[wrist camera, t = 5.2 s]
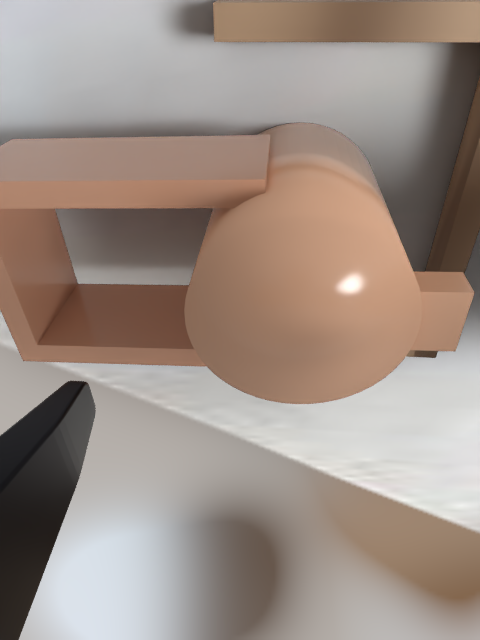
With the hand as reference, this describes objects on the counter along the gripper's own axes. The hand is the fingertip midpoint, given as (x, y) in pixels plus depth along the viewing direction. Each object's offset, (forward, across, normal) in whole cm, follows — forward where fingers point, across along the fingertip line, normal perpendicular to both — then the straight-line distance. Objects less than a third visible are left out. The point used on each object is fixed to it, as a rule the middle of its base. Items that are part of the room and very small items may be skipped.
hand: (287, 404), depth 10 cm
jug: (+11, +2, 0) cm, 11 cm away
